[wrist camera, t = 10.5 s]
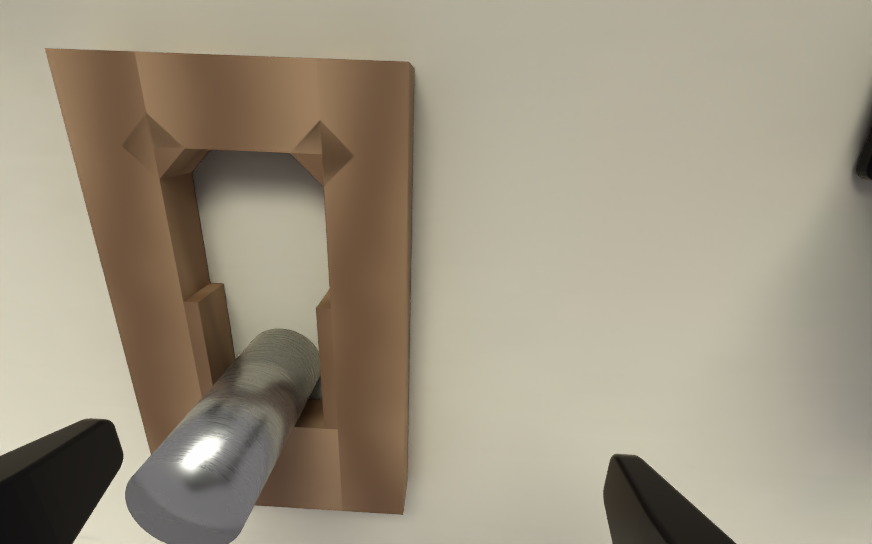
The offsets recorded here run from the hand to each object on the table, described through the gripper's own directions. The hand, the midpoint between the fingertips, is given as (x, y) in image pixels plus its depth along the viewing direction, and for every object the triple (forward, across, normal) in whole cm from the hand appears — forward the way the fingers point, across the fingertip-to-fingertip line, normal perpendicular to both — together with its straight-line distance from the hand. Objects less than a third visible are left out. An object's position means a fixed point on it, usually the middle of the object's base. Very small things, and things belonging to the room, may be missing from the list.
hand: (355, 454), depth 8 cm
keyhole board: (+11, +6, +3) cm, 13 cm away
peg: (+11, +6, +6) cm, 14 cm away
